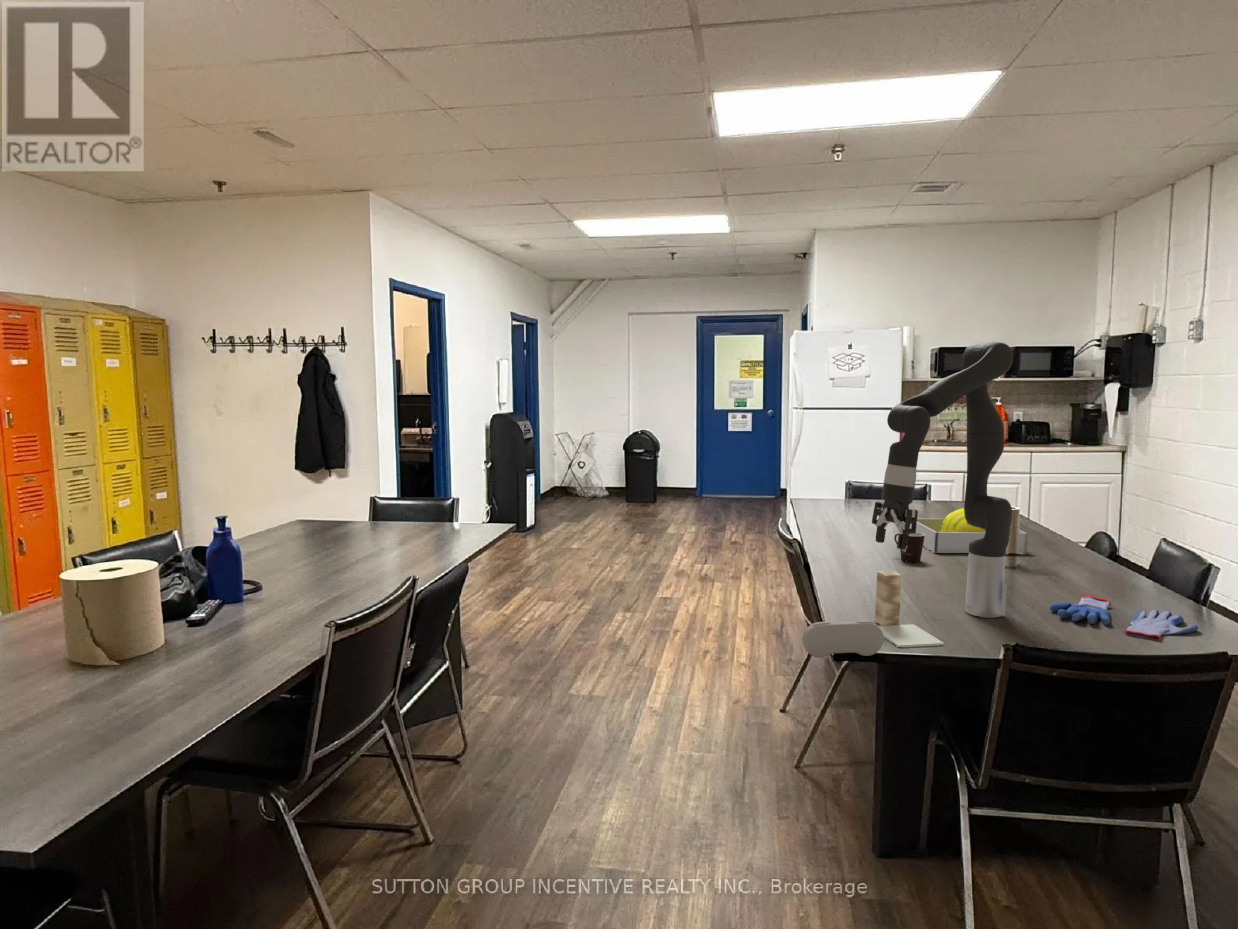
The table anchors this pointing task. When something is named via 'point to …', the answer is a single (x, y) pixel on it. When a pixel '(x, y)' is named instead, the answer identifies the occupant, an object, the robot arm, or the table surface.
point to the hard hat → (958, 523)
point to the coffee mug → (912, 547)
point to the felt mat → (909, 636)
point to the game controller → (842, 638)
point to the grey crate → (954, 538)
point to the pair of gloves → (1139, 626)
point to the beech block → (888, 598)
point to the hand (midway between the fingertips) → (890, 545)
